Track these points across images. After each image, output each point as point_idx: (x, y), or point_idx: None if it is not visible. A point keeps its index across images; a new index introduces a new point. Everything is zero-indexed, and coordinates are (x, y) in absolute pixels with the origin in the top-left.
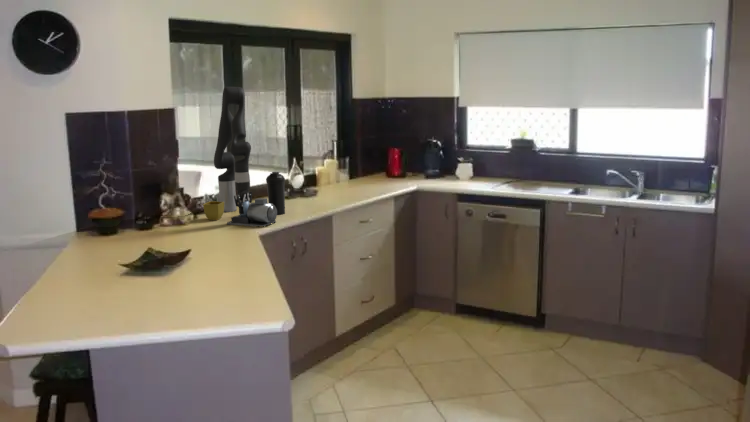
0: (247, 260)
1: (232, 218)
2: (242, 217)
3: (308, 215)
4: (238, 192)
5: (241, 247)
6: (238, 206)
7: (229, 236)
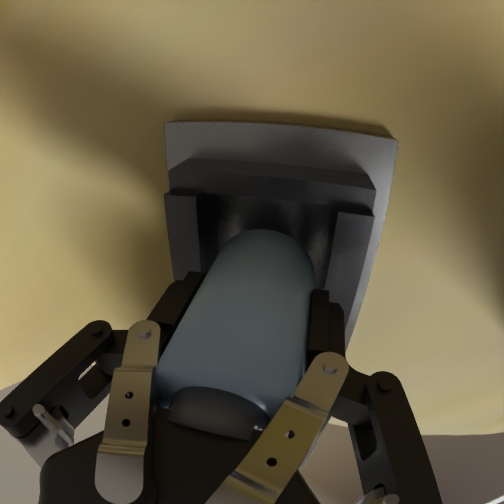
0: (2, 363)
1: (172, 181)
2: None
3: (463, 427)
4: (48, 500)
5: (14, 346)
6: (119, 338)
7: (24, 287)
